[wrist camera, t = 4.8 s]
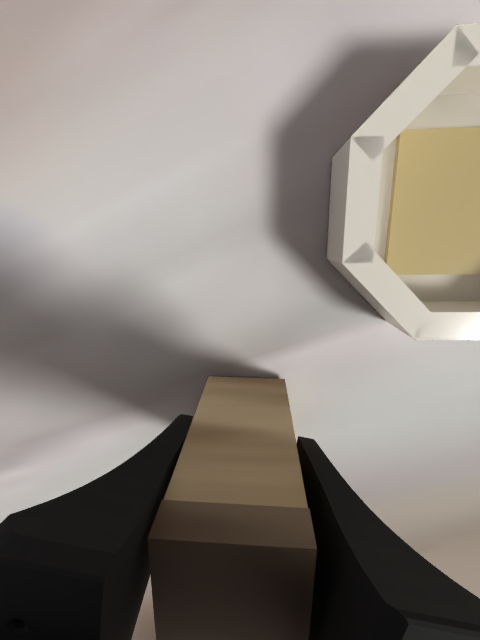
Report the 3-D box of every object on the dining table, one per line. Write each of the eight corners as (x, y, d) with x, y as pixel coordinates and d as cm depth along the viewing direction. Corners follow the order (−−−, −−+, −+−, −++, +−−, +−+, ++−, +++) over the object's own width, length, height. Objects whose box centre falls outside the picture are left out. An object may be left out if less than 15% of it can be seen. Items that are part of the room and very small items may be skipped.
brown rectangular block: (281, 445, 15) (305, 666, 7) (208, 442, 15) (157, 653, 7) (285, 378, 14) (317, 549, 6) (208, 375, 14) (147, 538, 7)
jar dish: (546, 321, 13) (612, 340, 10) (323, 321, 13) (336, 339, 11) (610, 61, 11) (714, 9, 8) (336, 75, 11) (357, 30, 9)
